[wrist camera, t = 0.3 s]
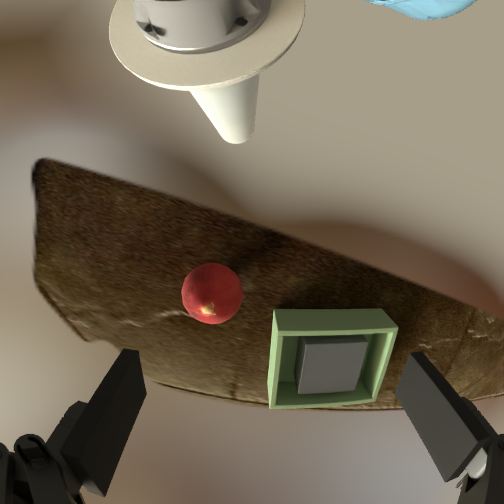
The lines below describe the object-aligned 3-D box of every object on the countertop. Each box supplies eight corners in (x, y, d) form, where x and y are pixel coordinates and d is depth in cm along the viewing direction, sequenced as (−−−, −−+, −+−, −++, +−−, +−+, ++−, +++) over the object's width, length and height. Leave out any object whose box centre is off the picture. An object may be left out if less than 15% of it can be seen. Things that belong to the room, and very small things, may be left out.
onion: (207, 313, 32) (196, 351, 25) (179, 270, 31) (158, 299, 23) (253, 289, 32) (254, 324, 24) (225, 244, 30) (217, 267, 23)
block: (300, 325, 32) (306, 344, 28) (357, 324, 32) (368, 341, 28) (293, 373, 34) (297, 394, 30) (346, 371, 34) (354, 390, 30)
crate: (273, 308, 32) (277, 330, 27) (381, 308, 32) (398, 327, 28) (267, 382, 35) (269, 408, 30) (363, 378, 35) (375, 401, 30)
